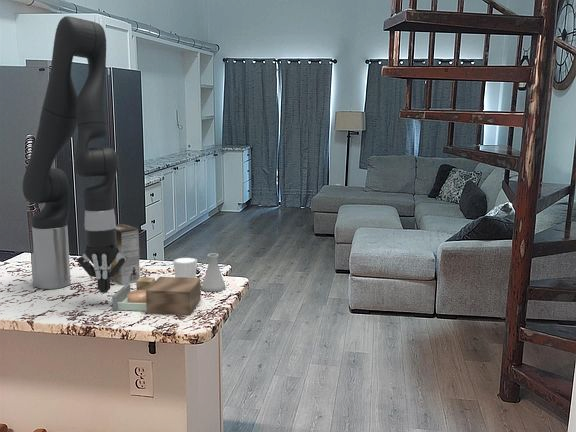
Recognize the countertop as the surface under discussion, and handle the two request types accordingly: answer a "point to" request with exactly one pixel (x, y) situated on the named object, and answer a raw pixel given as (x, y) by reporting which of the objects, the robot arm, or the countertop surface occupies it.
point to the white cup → (185, 267)
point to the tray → (126, 301)
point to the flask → (213, 275)
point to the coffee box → (127, 254)
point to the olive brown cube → (144, 283)
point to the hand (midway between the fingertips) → (104, 291)
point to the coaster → (137, 296)
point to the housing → (173, 296)
